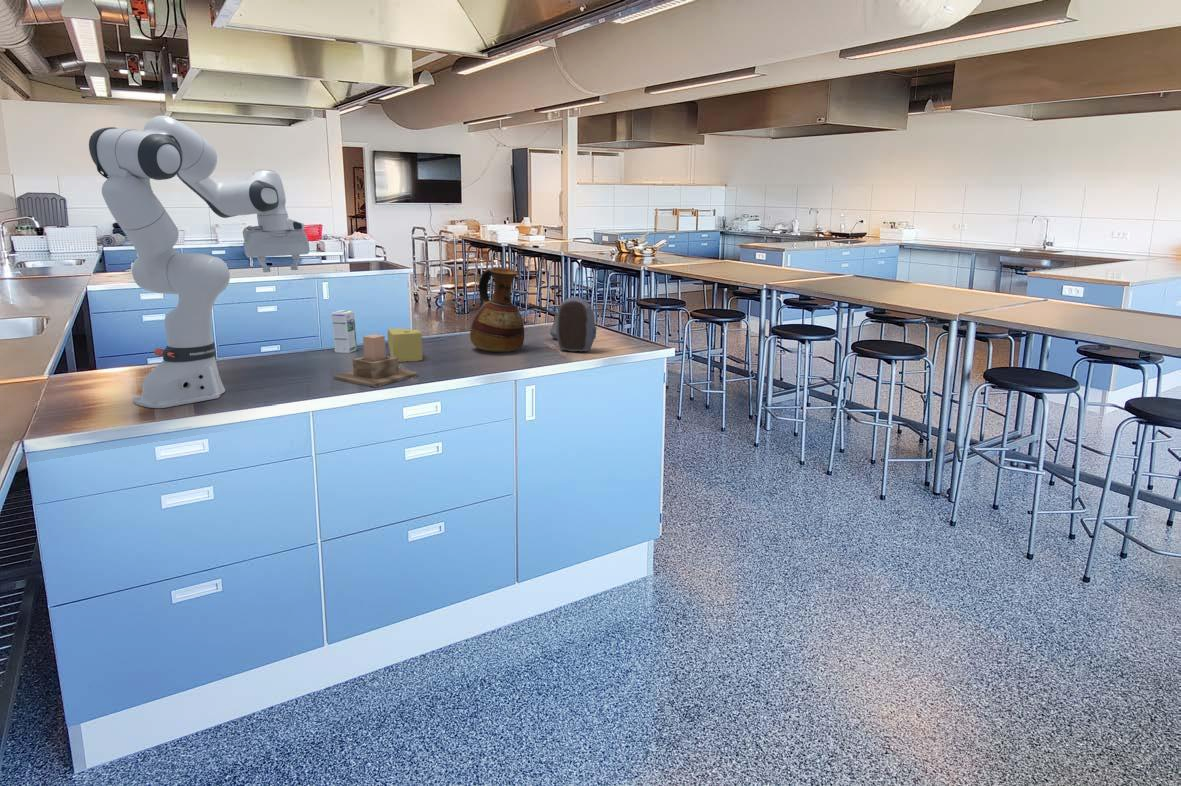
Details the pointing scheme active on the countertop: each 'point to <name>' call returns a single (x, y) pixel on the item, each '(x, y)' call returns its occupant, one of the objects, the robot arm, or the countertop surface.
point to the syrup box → (344, 331)
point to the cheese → (405, 344)
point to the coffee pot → (553, 328)
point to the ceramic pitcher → (497, 315)
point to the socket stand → (375, 372)
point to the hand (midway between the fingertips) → (281, 271)
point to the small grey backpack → (575, 325)
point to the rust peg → (374, 347)
